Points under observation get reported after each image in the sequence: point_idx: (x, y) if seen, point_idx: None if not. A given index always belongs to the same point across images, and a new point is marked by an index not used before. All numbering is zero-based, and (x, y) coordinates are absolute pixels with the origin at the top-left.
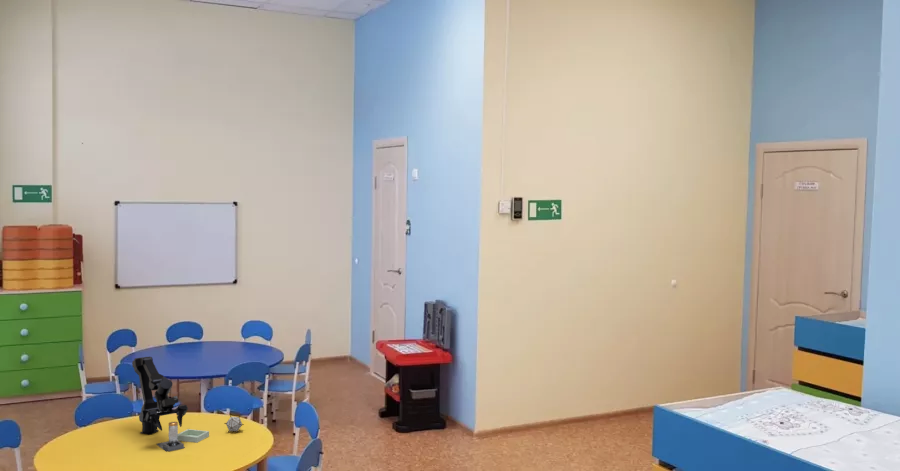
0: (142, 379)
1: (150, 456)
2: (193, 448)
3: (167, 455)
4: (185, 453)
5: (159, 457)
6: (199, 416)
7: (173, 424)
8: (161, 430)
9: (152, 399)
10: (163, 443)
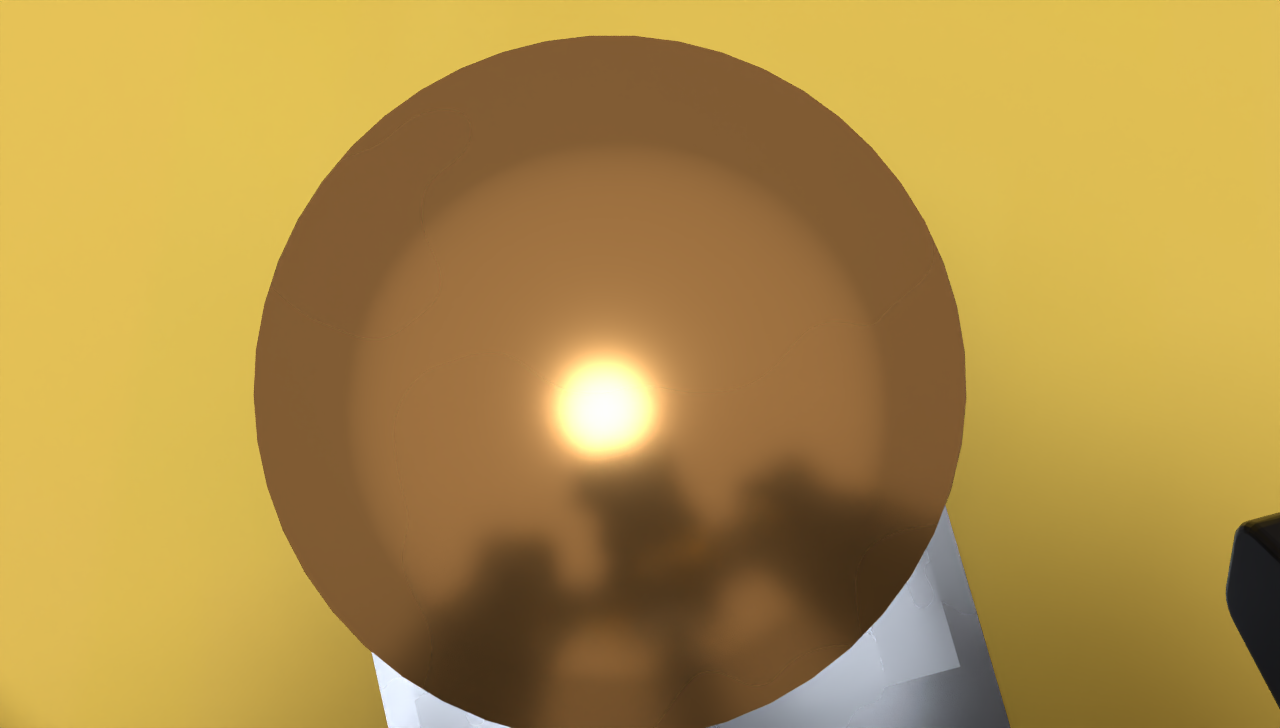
0: None
1: (1259, 191)
2: (97, 397)
3: (825, 92)
4: (365, 64)
5: (1032, 18)
6: None
7: (616, 45)
8: (1247, 575)
9: None
10: (945, 642)
